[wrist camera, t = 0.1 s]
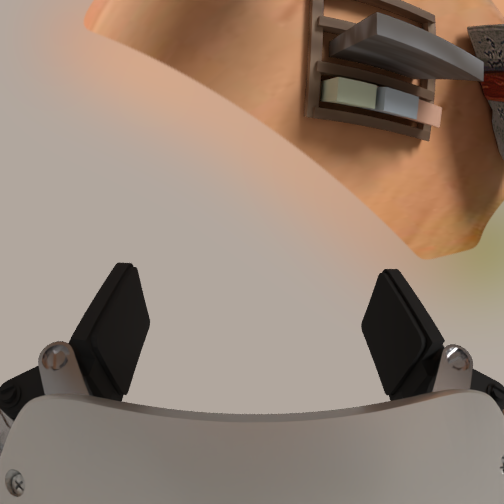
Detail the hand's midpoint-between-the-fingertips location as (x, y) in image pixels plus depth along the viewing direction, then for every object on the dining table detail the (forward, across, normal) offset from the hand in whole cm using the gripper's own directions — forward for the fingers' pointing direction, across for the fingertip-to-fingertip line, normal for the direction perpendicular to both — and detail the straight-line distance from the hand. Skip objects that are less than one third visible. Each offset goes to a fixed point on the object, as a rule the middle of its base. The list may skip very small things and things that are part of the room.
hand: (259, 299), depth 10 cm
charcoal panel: (+31, -17, -16) cm, 39 cm away
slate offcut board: (+31, -17, -10) cm, 37 cm away
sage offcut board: (+31, -12, -10) cm, 35 cm away
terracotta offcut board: (+31, -22, -9) cm, 40 cm away
